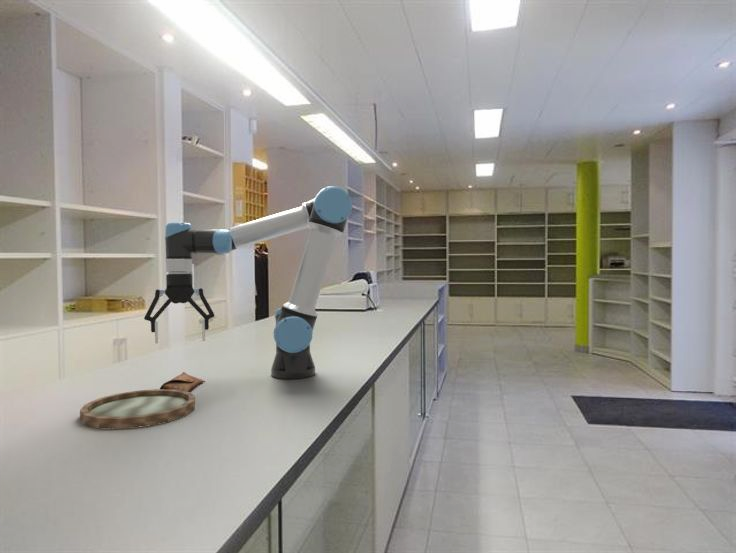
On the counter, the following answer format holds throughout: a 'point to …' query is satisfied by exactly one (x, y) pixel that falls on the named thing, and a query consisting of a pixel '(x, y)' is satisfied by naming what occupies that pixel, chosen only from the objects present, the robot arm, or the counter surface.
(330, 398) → the counter surface
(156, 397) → the tray
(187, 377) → the sunglasses case
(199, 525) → the counter surface
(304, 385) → the counter surface
